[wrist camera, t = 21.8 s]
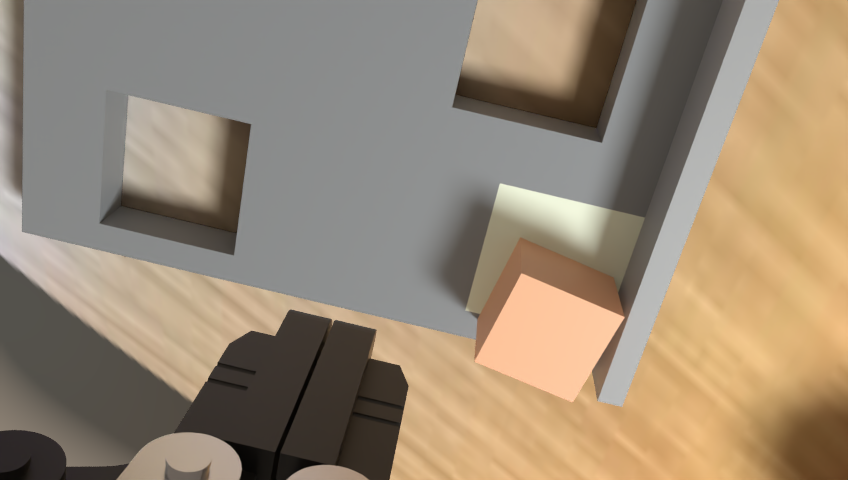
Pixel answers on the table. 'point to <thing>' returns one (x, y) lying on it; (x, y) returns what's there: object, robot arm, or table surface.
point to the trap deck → (386, 150)
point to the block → (547, 320)
